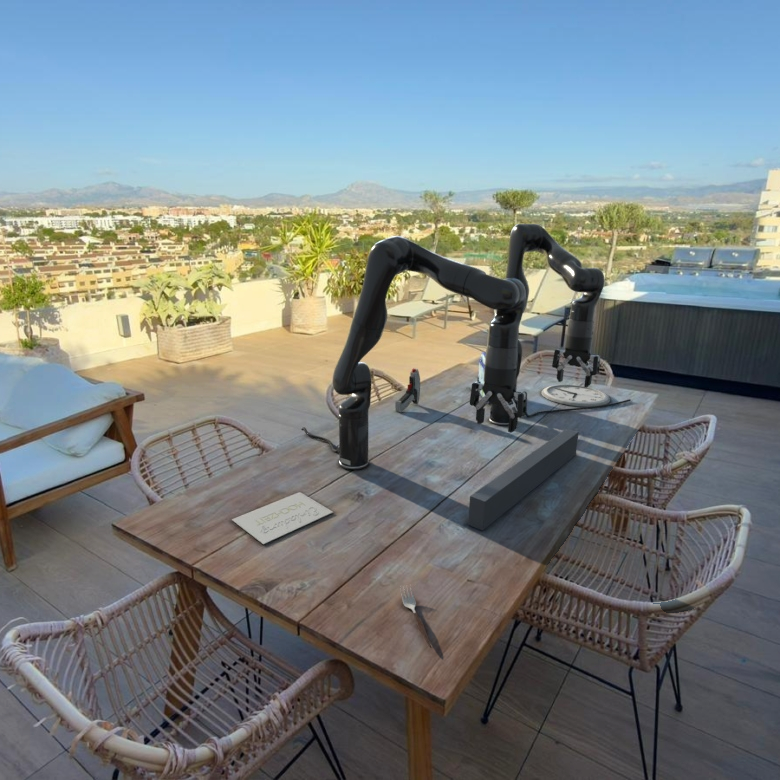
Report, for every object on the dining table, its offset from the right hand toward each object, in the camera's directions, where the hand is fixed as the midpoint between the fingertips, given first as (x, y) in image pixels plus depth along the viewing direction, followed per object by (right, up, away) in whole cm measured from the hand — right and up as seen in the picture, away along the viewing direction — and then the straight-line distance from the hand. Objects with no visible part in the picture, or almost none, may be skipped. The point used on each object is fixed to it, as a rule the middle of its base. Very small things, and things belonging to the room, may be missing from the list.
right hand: (573, 384), depth 167 cm
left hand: (-32, -11, -37) cm, 51 cm away
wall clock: (+26, -5, +73) cm, 78 cm away
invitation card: (-86, -35, -30) cm, 98 cm away
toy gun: (-51, -10, +54) cm, 75 cm away
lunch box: (-13, -6, +67) cm, 68 cm away
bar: (-17, -30, -11) cm, 36 cm away
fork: (-53, -47, -65) cm, 96 cm away
